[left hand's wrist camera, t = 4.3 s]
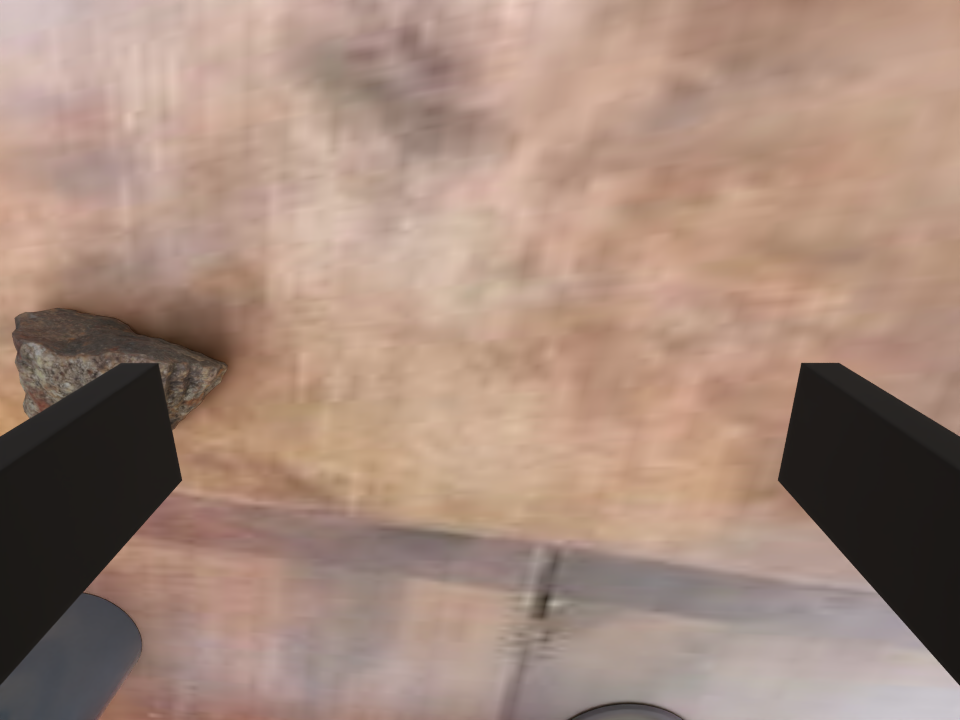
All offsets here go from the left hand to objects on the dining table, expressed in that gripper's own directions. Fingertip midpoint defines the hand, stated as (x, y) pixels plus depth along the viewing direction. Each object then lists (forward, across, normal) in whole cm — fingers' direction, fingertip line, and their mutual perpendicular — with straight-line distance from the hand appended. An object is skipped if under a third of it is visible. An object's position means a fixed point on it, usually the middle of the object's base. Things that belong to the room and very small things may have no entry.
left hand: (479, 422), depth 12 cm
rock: (+28, +25, +9) cm, 38 cm away
